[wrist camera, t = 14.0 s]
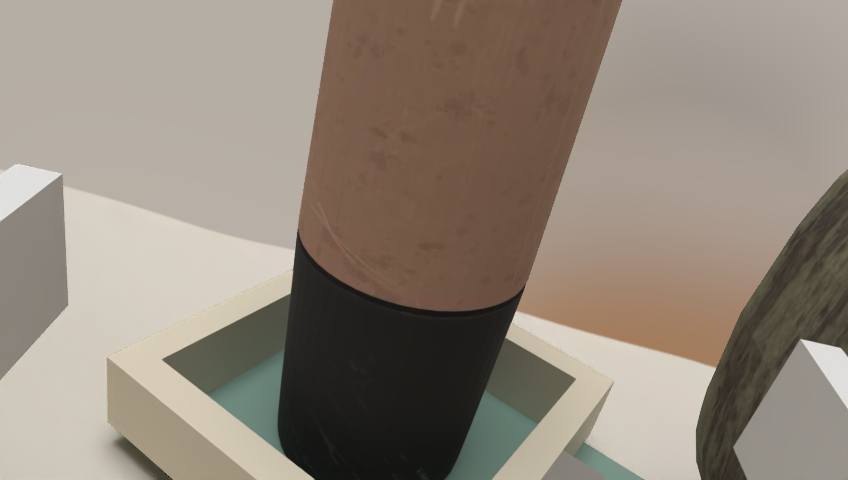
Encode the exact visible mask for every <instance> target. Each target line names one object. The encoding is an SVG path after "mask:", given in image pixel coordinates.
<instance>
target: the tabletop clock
mask: <svg viewBox="0 0 848 480" xmlns="http://www.w3.org/2000/svg"><path fill="white" fill-rule="evenodd" d="M800 339H802V340H807V341H811V342H816V343H820V344H825V345H829V346H834V347H838V348H841V349H842V350H843V351H844V353H845V354H846V355H847V357H848V170H846V171H845V172H844V173H843V174H842V175H841V176H840V177H839V178H838V179H837V180H836V181H835V182H834V183H833V185H832V186H831V187H830V188H829V189H828V190H827V192H826V193H825V194H824V195H823V196H822V197H821V199H820V200H819V201H818V202H817V204H816V205H815V206H814V207H813V208H812V209H811V211H810V212H809V213H808V214H807V216H806V217H805V218H804V219H803V221H802V222H801V223H800V224H799V226H798V227H797V228H796V230H795V231H794V233H793V234H792V236H791V237H790V239H789V241H788V242H787V244H786V245H785V247H784V248H783V250H782V251H781V253H780V254H779V256H778V257H777V259H776V261H775V262H774V263H773V265H772V267H771V268H770V270H769V271H768V273H767V274H766V276H765V277H764V279H763V280H762V282H761V283H760V285H759V286H758V288H757V289H756V291H755V292H754V294H753V295H752V297H751V298H750V300H749V301H748V303H747V305H746V306H745V308H744V309H743V311H742V312H741V315H740V317H739V319H738V321H737V323H736V326H735V328H734V330H733V332H732V335H731V337H730V339H729V341H728V344H727V346H726V348H725V350H724V353H723V355H722V357H721V359H720V362H719V364H718V366H717V368H716V371H715V373H714V375H713V377H712V380H711V382H710V384H709V386H708V389H707V391H706V394H705V398H704V401H703V404H702V408H701V411H700V415H699V420H698V424H697V428H696V462H697V465H698V469H699V472H700V476H701V480H747V478H746V476H745V473H744V471H743V469H742V466H741V464H740V462H739V460H738V457H737V455H736V453H735V451H734V448H733V447H734V445H735V444H736V442H737V440H738V439H739V437H740V436H741V434H742V432H743V431H744V429H745V428H746V426H747V424H748V423H749V421H750V420H751V418H752V416H753V415H754V413H755V411H756V410H757V408H758V407H759V405H760V403H761V402H762V400H763V399H764V397H765V395H766V394H767V392H768V391H769V389H770V387H771V386H772V384H773V382H774V381H775V379H776V378H777V376H778V374H779V373H780V371H781V370H782V368H783V366H784V365H785V363H786V361H787V360H788V358H789V357H790V355H791V353H792V352H793V350H794V349H795V347H796V345H797V344H798V342H799V341H800Z"/></svg>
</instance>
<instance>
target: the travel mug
mask: <svg viewBox="0 0 848 480" xmlns="http://www.w3.org/2000/svg"><path fill="white" fill-rule="evenodd" d="M621 2H622V0H333V6H332V12H331V19H330V25H329V31H328V37H327V44H326V50H325V56H324V63H323V70H322V76H321V82H320V88H319V95H318V101H317V107H316V114H315V120H314V126H313V133H312V139H311V146H310V152H309V158H308V164H307V171H306V178H305V183H304V190H303V196H302V203H301V209H300V215H299V224H298V232H297V241H296V249H295V258H294V267H293V277H292V286H291V295H290V304H289V313H288V322H287V331H286V341H285V350H284V359H283V368H282V377H281V387H280V397H279V408H278V423H277V425H278V435H279V439H280V442H281V446H282V448H283V451H284V453H285V455H286V457H287V458H288V459H289V460H290V461H292V462H293V463H294V464H295V465H297V466H298V467H299V468H301V469H302V470H303V471H304V472H306V473H307V474H308V475H310V476H311V477H312V478H313V479H315V480H445V478H446V477H447V476H448V475H449V473H450V472H451V470H452V468H453V467H454V465H455V463H456V461H457V459H458V456H459V454H460V452H461V449H462V447H463V444H464V442H465V439H466V437H467V434H468V432H469V429H470V427H471V424H472V422H473V419H474V417H475V414H476V411H477V409H478V406H479V404H480V401H481V399H482V396H483V394H484V391H485V388H486V386H487V383H488V381H489V378H490V376H491V373H492V371H493V368H494V365H495V363H496V360H497V358H498V355H499V353H500V350H501V348H502V345H503V342H504V340H505V337H506V335H507V332H508V330H509V327H510V325H511V322H512V319H513V317H514V314H515V312H516V309H517V307H518V304H519V301H520V299H521V296H522V294H523V291H524V288H525V285H526V282H527V280H528V278H529V275H530V272H531V269H532V266H533V263H534V260H535V257H536V254H537V251H538V248H539V245H540V242H541V239H542V236H543V233H544V230H545V227H546V224H547V221H548V218H549V216H550V213H551V210H552V207H553V204H554V201H555V197H556V195H557V192H558V189H559V186H560V183H561V180H562V177H563V174H564V171H565V168H566V165H567V162H568V159H569V156H570V153H571V150H572V147H573V144H574V141H575V138H576V135H577V133H578V130H579V127H580V124H581V120H582V118H583V115H584V112H585V109H586V106H587V103H588V100H589V97H590V94H591V91H592V88H593V85H594V82H595V79H596V76H597V73H598V70H599V67H600V64H601V61H602V58H603V56H604V53H605V50H606V47H607V44H608V41H609V38H610V35H611V32H612V29H613V26H614V23H615V20H616V17H617V14H618V11H619V8H620V5H621Z"/></svg>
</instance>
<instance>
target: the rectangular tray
mask: <svg viewBox="0 0 848 480" xmlns="http://www.w3.org/2000/svg"><path fill="white" fill-rule="evenodd" d="M292 277H293V269H291V270H289V271H287V272H285V273H283V274H281V275H279V276H277V277H275V278H272V279H270V280H268V281H266V282H264V283H262V284H260V285H258V286H256V287H253V288H251V289H249V290H247V291H245V292H243V293H241V294H239V295H237V296H234V297H232V298H230V299H228V300H226V301H224V302H222V303H220V304H218V305H215V306H213V307H211V308H209V309H207V310H205V311H203V312H201V313H199V314H196V315H194V316H192V317H190V318H188V319H186V320H184V321H182V322H180V323H177V324H175V325H173V326H171V327H169V328H167V329H165V330H163V331H161V332H158V333H156V334H154V335H152V336H150V337H148V338H146V339H144V340H142V341H139V342H137V343H135V344H133V345H131V346H129V347H127V348H125V349H123V350H121V351H118V352H116V353H114V354H112V355H110V356H108V357H107V397H108V423H110V424H111V425H112V426H113V427H114V428H115V429H116V430H117V431H119V432H120V433H121V434H122V435H123V436H124V437H125V438H127V439H128V440H129V441H130V442H131V443H132V444H133V445H134V446H136V447H137V448H138V449H139V450H140V451H141V452H142V453H144V454H145V455H146V456H147V457H148V458H149V459H150V460H151V461H153V462H154V463H155V464H156V465H157V466H158V467H159V468H161V469H162V470H163V471H164V472H165V473H166V474H167V475H168V476H170V477H171V478H172V479H173V480H315V479H313V478H312V477H311V476H310V475H308V474H307V473H306V472H304V471H303V470H302V469H301V468H299V467H298V466H297V465H295V464H294V463H293V462H292V461H290V460H289V459H288V458H287V457H286V455H285V453H284V451H283V448H282V446H281V442H280V439H279V435H278V425H277V423H278V408H279V397H280V387H281V377H282V368H283V359H284V350H285V341H286V331H287V322H288V313H289V304H290V295H291V286H292ZM613 383H614V380H613V379H611V378H609V377H607V376H606V375H604V374H602V373H600V372H598V371H597V370H595V369H593V368H591V367H590V366H588V365H586V364H584V363H583V362H581V361H579V360H577V359H575V358H574V357H572V356H570V355H568V354H567V353H565V352H563V351H561V350H560V349H558V348H556V347H554V346H553V345H551V344H549V343H547V342H545V341H544V340H542V339H540V338H538V337H537V336H535V335H533V334H531V333H530V332H528V331H526V330H524V329H523V328H521V327H519V326H517V325H515V324H514V323H512V322H511V325H510V327H509V330H508V332H507V335H506V337H505V340H504V342H503V345H502V348H501V350H500V353H499V355H498V358H497V360H496V363H495V365H494V368H493V371H492V373H491V376H490V378H489V381H488V383H487V386H486V388H485V391H484V394H483V396H482V399H481V401H480V404H479V406H478V409H477V411H476V414H475V417H474V419H473V422H472V424H471V427H470V429H469V432H468V434H467V437H466V439H465V442H464V444H463V447H462V449H461V452H460V454H459V456H458V459H457V461H456V463H455V465H454V467H453V468H452V470H451V472H450V473H449V475H448V476H447V477H446V478H445V480H644V479H642V478H641V477H639V476H637V475H636V474H634V473H633V472H631V471H629V470H628V469H626V468H624V467H623V466H621V465H620V464H618V463H616V462H615V461H613V460H612V459H610V458H608V457H607V456H605V455H603V454H602V453H600V452H599V451H597V450H595V449H594V448H592V447H591V446H589V445H587V444H586V443H584V441H585V440H586V439H587V437H588V436H589V434H590V433H591V430H592V428H593V426H594V424H595V422H596V420H597V418H598V415H599V413H600V411H601V409H602V407H603V405H604V402H605V400H606V398H607V396H608V394H609V392H610V390H611V387H612V385H613Z"/></svg>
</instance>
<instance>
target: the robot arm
mask: <svg viewBox="0 0 848 480" xmlns="http://www.w3.org/2000/svg"><path fill="white" fill-rule="evenodd" d="M67 306H68V290H67V268H66V245H65V223H64V200H63V179H62V174H60V173H56V172H52V171H47V170H43V169H38V168H34V167H30V166H25V165H20V164H16V165H14V166H12V167H11V168H9V169H8V170H6V171H5V172H3V173H2V174H0V380H1V379H2V377H3V376H4V375H5V374H6V373H7V372H8V371H9V370H10V369H11V368H12V366H13V365H14V364H15V363H16V362H17V361H18V360H19V359H20V358H21V356H22V355H23V354H24V353H25V352H26V351H27V350H28V349H29V348H30V347H31V345H32V344H33V343H34V342H35V341H36V340H37V339H38V338H39V337H40V336H41V334H42V333H43V332H44V331H45V330H46V329H47V328H48V327H49V326H50V324H51V323H52V322H53V321H54V320H55V319H56V318H57V317H58V316H59V315H60V313H61V312H62V311H63V310H64V309H65V308H66V307H67ZM733 448H734V451H735V453H736V455H737V457H738V460H739V462H740V464H741V466H742V469H743V471H744V473H745V476H746V478H747V480H848V357H847V355H846V354H845V353H844V351H843V350H842V349H841V348H838V347H834V346H829V345H825V344H820V343H816V342H811V341H807V340H802V339H800V341H799V342H798V344H797V345H796V347H795V349H794V350H793V352H792V353H791V355H790V357H789V358H788V360H787V361H786V363H785V365H784V366H783V368H782V370H781V371H780V373H779V374H778V376H777V378H776V379H775V381H774V382H773V384H772V386H771V387H770V389H769V391H768V392H767V394H766V395H765V397H764V399H763V400H762V402H761V403H760V405H759V407H758V408H757V410H756V411H755V413H754V415H753V416H752V418H751V420H750V421H749V423H748V424H747V426H746V428H745V429H744V431H743V432H742V434H741V436H740V437H739V439H738V440H737V442H736V444H735V445H734V447H733Z"/></svg>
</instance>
